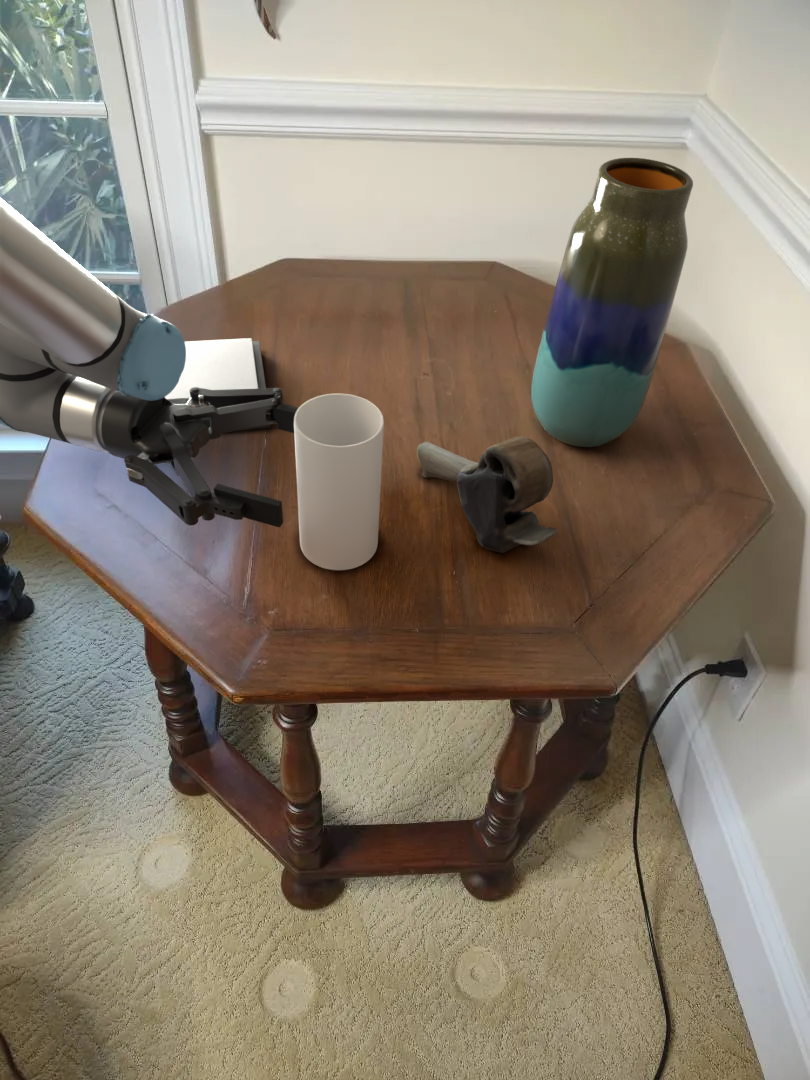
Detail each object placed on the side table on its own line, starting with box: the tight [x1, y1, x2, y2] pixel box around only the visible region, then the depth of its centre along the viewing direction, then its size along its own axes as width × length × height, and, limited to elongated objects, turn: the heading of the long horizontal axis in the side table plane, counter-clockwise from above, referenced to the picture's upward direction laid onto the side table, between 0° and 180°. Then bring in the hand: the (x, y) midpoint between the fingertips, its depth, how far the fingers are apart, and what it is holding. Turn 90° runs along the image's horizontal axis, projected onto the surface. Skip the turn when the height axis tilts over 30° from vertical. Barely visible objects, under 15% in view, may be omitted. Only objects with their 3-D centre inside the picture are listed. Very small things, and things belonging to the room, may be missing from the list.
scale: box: [165, 337, 272, 431], centre depth 98 cm, size 15×17×3 cm
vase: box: [530, 157, 694, 448], centre depth 87 cm, size 14×14×31 cm
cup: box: [293, 393, 385, 571], centre depth 76 cm, size 8×8×16 cm
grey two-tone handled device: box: [416, 435, 558, 554], centre depth 82 cm, size 21×6×12 cm, turn 35°
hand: (310, 470), depth 76 cm, fingers open, 13 cm apart
